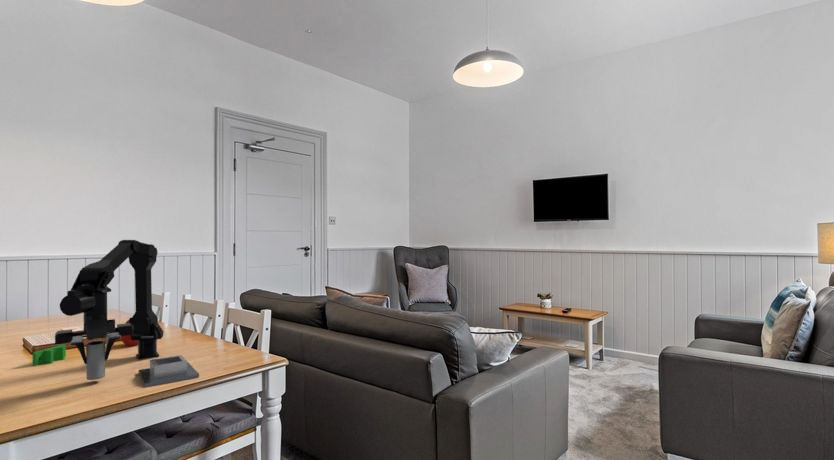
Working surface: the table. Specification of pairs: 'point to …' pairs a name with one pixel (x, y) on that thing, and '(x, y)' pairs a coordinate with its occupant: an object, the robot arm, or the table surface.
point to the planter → (95, 360)
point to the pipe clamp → (49, 355)
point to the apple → (129, 340)
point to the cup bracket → (167, 371)
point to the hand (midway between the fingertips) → (95, 362)
